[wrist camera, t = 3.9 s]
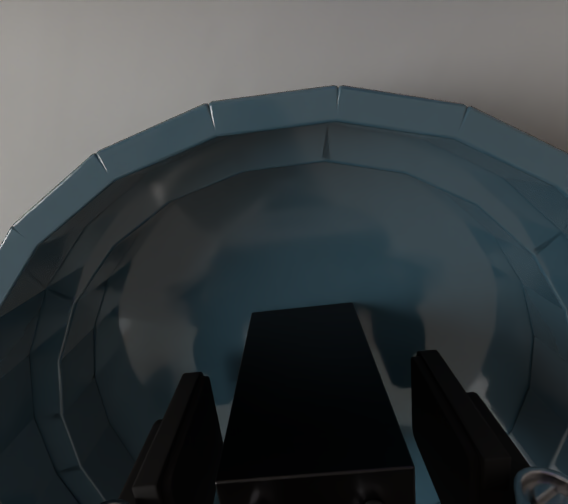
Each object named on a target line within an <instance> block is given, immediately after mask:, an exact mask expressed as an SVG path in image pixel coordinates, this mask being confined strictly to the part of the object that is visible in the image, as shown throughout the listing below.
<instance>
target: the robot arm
mask: <svg viewBox="0 0 568 504" xmlns="http://www.w3.org/2000/svg"><path fill="white" fill-rule="evenodd" d="M411 400H412V430H413V435H414V439H415V442H416V444H417V447H418V449H419V451H420V454H421V456H422V459H423V461H424V464H425V466H426V468H427V471H428V473H429V476H430V478H431V481H432V483H433V486H434V488H435V490H436V493H437V495H438V498H439V500H440V503H441V504H568V476H566V475H564V474H562V473H560V472H559V471H555V470H552V469H549V468H545V467H536V466H534V467H531V466H530V465H529V464H528V462H527V461H526V459H525V458H524V457H523V455H522V454H521V453H520V451H519V450H518V448H517V447H516V446H515V444H514V443H513V442H512V440H511V439H510V437H509V436H508V435H507V433H506V432H505V431H504V429H503V428H502V426H501V425H500V424H499V422H498V421H497V420H496V418H495V417H494V415H493V414H492V413H491V411H490V410H489V409H488V407H487V406H486V404H485V403H484V402H483V400H482V399H481V398H480V396H479V395H478V394H477V393H475V392H466V391H465V390H464V388H463V387H462V385H461V384H460V382H459V381H458V379H457V378H456V377H455V375H454V374H453V372H452V371H451V369H450V368H449V366H448V365H447V363H446V362H445V361H444V359H443V358H442V356H441V355H440V353H439V352H438V351H437V350H425V351H418V352H417V354H416V356H414V357H411ZM222 448H223V439H222V434H221V430H220V425H219V420H218V415H217V411H216V406H215V401H214V397H213V392H212V387H211V382H210V378H209V376H204V375H203V373H202V372H192V373H184V374H183V375H182V377H181V379H180V381H179V384H178V386H177V388H176V390H175V393H174V395H173V397H172V399H171V401H170V404H169V406H168V408H167V410H166V412H165V415H164V417H163V419H159V420H157V421H155V423H154V424H153V426H152V428H151V430H150V432H149V434H148V437H147V439H146V441H145V443H144V445H143V447H142V449H141V451H140V453H139V456H138V458H137V460H136V462H135V464H134V466H133V468H132V470H131V472H130V474H129V477H128V479H127V481H126V483H125V485H124V487H123V489H122V491H121V493H120V496H119V498H118V499H111V500H108V501H104V502H102V503H100V504H213V502H214V498H215V493H216V485H215V480H216V476H217V471H218V467H219V462H220V457H221V453H222Z"/></svg>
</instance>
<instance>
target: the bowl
mask: <svg viewBox="0 0 568 504" xmlns="http://www.w3.org/2000/svg"><path fill="white" fill-rule="evenodd" d="M351 302H352V303H353V304H354V307H355V309H356V312H357V315H358V317H359V320H360V323H361V325H362V328H363V331H364V333H365V336H366V339H367V341H368V344H369V347H370V349H371V352H372V355H373V357H374V360H375V362H376V365H377V368H378V370H379V373H380V376H381V378H382V381H383V384H384V386H385V389H386V392H387V394H388V397H389V400H390V402H391V405H392V407H393V410H394V413H395V415H396V418H397V421H398V423H399V426H400V429H401V431H402V434H403V437H404V439H405V442H406V445H407V447H408V450H409V453H410V455H411V458H412V460H413V463H414V466H415V495H416V504H441V503H440V500H439V498H438V495H437V493H436V490H435V488H434V486H433V483H432V481H431V478H430V476H429V473H428V471H427V468H426V466H425V464H424V461H423V459H422V456H421V454H420V451H419V449H418V447H417V444H416V442H415V439H414V435H413V430H412V400H411V357H414V356H416V354H417V352H418V351H425V350H437V351H438V352H439V353H440V355H441V356H442V358H443V359H444V361H445V362H446V363H447V365H448V366H449V368H450V369H451V371H452V372H453V374H454V375H455V377H456V378H457V379H458V381H459V382H460V384H461V385H462V387H463V388H464V390H465V391H466V392H475V393H477V394H478V395H479V396H480V398H481V399H482V400H483V402H484V403H485V404H486V406H487V407H488V409H489V410H490V411H491V413H492V414H493V415H494V417H495V418H496V420H497V421H498V422H499V424H500V425H501V426H502V428H503V429H504V431H505V432H506V433H507V435H508V436H509V437H510V439H511V440H512V442H513V443H514V444H515V446H516V447H517V448H518V450H519V451H520V453H521V454H522V455H523V457H524V458H525V459H526V461H527V462H528V464H529V465H530V466H531V467H534V466H536V467H545V468H549V469H552V470H555V471H559V472H560V473H562V474H564V475H566V476H568V153H567V152H565V151H563V150H561V149H558V148H556V147H554V146H552V145H550V144H548V143H546V142H544V141H542V140H540V139H538V138H536V137H534V136H532V135H530V134H528V133H526V132H523V131H521V130H519V129H517V128H515V127H513V126H511V125H509V124H507V123H505V122H503V121H501V120H499V119H497V118H495V117H493V116H490V115H488V114H486V113H484V112H482V111H480V110H478V109H476V108H474V107H472V106H466V105H465V104H461V103H455V102H448V101H442V100H435V99H429V98H422V97H416V96H409V95H403V94H396V93H390V92H383V91H377V90H370V89H364V88H357V87H351V86H345V85H342V86H339V87H337V86H335V85H331V86H323V87H316V88H308V89H301V90H293V91H286V92H278V93H271V94H263V95H255V96H248V97H240V98H233V99H225V100H218V101H212V102H210V103H209V104H202V105H200V106H197V107H195V108H193V109H191V110H188V111H186V112H184V113H182V114H179V115H177V116H175V117H173V118H170V119H168V120H166V121H164V122H161V123H159V124H157V125H155V126H153V127H150V128H148V129H146V130H144V131H141V132H139V133H137V134H135V135H132V136H130V137H128V138H126V139H123V140H121V141H119V142H117V143H114V144H112V145H110V146H108V147H105V148H103V149H101V150H99V151H98V152H97V153H94V154H92V155H91V156H90V157H89V158H87V159H86V160H85V161H84V162H83V163H82V164H81V165H80V166H78V167H77V168H76V169H75V170H74V171H73V172H72V173H70V174H69V175H68V176H67V177H66V178H65V179H64V180H63V181H61V182H60V183H59V184H58V185H57V186H56V187H55V188H54V189H52V190H51V191H50V192H49V193H48V194H47V195H46V196H45V197H43V198H42V199H41V200H40V201H39V202H38V203H37V204H35V205H34V206H33V207H32V208H31V209H30V210H29V211H28V212H26V213H25V214H24V215H23V216H22V217H21V218H20V219H19V220H17V221H16V222H15V223H14V224H13V226H12V227H11V228H10V230H9V231H8V233H7V235H6V237H5V238H4V240H3V242H2V244H1V245H0V504H100V503H102V502H104V501H108V500H111V499H118V498H119V496H120V493H121V491H122V489H123V487H124V485H125V483H126V481H127V479H128V477H129V474H130V472H131V470H132V468H133V466H134V464H135V462H136V460H137V458H138V456H139V453H140V451H141V449H142V447H143V445H144V443H145V441H146V439H147V437H148V434H149V432H150V430H151V428H152V426H153V424H154V423H155V421H157V420H159V419H163V417H164V415H165V412H166V410H167V408H168V406H169V404H170V401H171V399H172V397H173V395H174V393H175V390H176V388H177V386H178V384H179V381H180V379H181V377H182V375H183V374H184V373H192V372H202V373H203V375H204V376H209V378H210V382H211V387H212V392H213V397H214V401H215V406H216V411H217V415H218V420H219V425H220V430H221V434H222V439H223V443H224V439H225V434H226V429H227V425H228V420H229V416H230V411H231V406H232V402H233V397H234V392H235V388H236V383H237V379H238V374H239V369H240V365H241V360H242V355H243V351H244V346H245V342H246V337H247V332H248V328H249V323H250V318H251V314H252V313H253V312H263V311H273V310H283V309H292V308H302V307H312V306H322V305H332V304H341V303H351ZM213 504H220V503H219V498H218V494H217V490H216V493H215V498H214V502H213Z"/></svg>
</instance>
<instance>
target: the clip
mask: <svg viewBox="0 0 568 504" xmlns="http://www.w3.org/2000/svg"><path fill="white" fill-rule="evenodd" d="M215 485H216V490H217V494H218V498H219V503H220V504H416V495H415V466H414V463H413V460H412V458H411V455H410V453H409V450H408V447H407V445H406V442H405V439H404V437H403V434H402V431H401V429H400V426H399V423H398V421H397V418H396V415H395V413H394V410H393V407H392V405H391V402H390V400H389V397H388V394H387V392H386V389H385V386H384V384H383V381H382V378H381V376H380V373H379V370H378V368H377V365H376V362H375V360H374V357H373V355H372V352H371V349H370V347H369V344H368V341H367V339H366V336H365V333H364V331H363V328H362V325H361V323H360V320H359V317H358V315H357V312H356V309H355V307H354V304H353V303H352V302H351V303H341V304H332V305H322V306H312V307H302V308H292V309H283V310H273V311H263V312H253V313H252V314H251V318H250V323H249V328H248V332H247V337H246V342H245V346H244V351H243V355H242V360H241V365H240V369H239V374H238V379H237V383H236V388H235V392H234V397H233V402H232V406H231V411H230V416H229V420H228V425H227V429H226V434H225V439H224V443H223V448H222V453H221V457H220V462H219V467H218V471H217V476H216V480H215Z"/></svg>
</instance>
